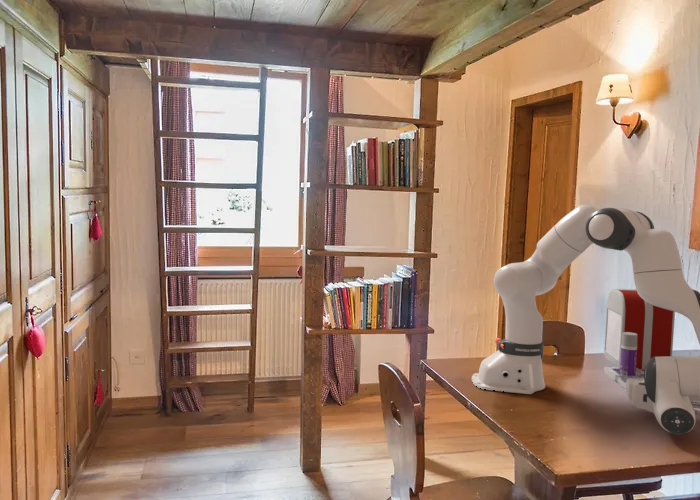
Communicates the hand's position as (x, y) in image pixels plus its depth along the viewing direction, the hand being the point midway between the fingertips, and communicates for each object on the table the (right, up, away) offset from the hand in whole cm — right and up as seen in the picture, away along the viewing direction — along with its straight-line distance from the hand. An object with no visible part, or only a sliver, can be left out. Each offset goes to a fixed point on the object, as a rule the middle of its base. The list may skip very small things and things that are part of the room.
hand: (664, 384), depth 158 cm
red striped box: (+14, -3, +43) cm, 46 cm away
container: (+2, -4, +25) cm, 26 cm away
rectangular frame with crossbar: (+2, -4, +20) cm, 21 cm away
